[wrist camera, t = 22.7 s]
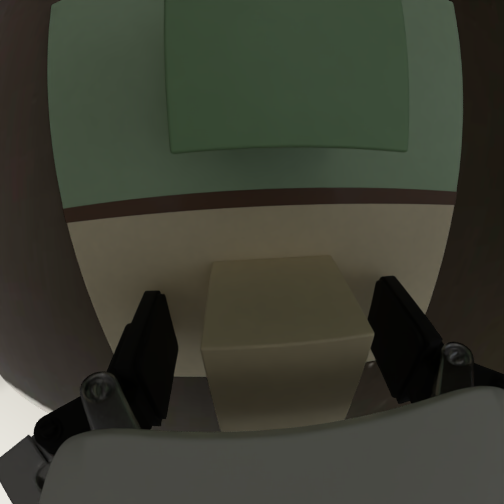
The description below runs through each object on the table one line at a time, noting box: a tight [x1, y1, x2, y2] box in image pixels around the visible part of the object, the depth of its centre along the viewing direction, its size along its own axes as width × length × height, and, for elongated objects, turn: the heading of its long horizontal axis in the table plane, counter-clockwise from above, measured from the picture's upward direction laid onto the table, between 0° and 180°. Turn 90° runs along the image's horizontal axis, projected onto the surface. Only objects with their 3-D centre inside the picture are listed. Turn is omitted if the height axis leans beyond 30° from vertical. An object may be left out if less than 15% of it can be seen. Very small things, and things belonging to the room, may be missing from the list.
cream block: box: [200, 255, 374, 432], centre depth 10 cm, size 4×4×4 cm
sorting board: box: [47, 0, 463, 377], centre depth 10 cm, size 16×18×1 cm
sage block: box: [164, 0, 409, 154], centre depth 6 cm, size 4×4×4 cm
